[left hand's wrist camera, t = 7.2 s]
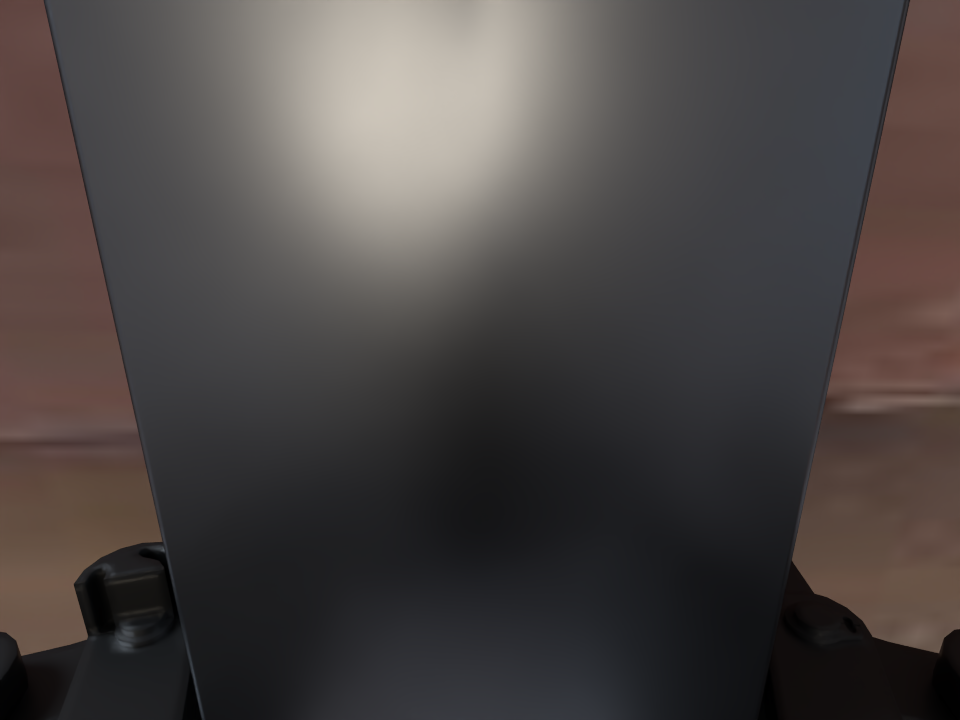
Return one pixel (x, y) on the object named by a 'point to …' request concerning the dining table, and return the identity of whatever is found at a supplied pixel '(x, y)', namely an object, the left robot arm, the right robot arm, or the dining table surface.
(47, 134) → the dining table surface
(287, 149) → the bar
